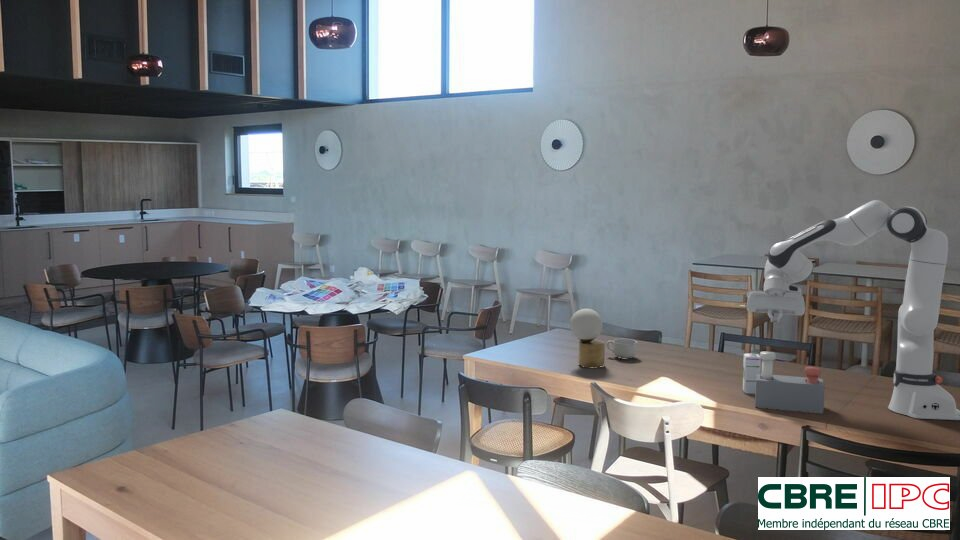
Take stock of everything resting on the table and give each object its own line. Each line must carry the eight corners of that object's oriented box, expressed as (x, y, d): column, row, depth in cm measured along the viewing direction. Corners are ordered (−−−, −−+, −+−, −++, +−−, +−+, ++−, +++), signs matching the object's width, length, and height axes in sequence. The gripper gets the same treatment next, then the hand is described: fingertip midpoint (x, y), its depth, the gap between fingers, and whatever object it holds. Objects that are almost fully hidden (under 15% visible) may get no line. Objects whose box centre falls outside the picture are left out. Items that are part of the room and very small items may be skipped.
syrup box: (760, 394, 287) (761, 356, 285) (743, 393, 288) (745, 356, 286) (757, 390, 292) (759, 353, 291) (741, 389, 294) (743, 352, 292)
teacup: (640, 357, 349) (640, 340, 348) (631, 361, 340) (631, 344, 339) (611, 353, 356) (612, 336, 356) (602, 357, 347) (602, 340, 346)
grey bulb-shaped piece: (773, 390, 275) (775, 352, 273) (774, 393, 270) (775, 355, 268) (758, 388, 276) (760, 351, 275) (758, 392, 271) (760, 354, 270)
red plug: (818, 405, 270) (820, 367, 269) (819, 410, 265) (821, 370, 264) (802, 404, 272) (804, 366, 270) (803, 408, 267) (805, 369, 265)
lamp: (566, 367, 329) (567, 310, 326) (572, 360, 342) (573, 305, 339) (601, 370, 325) (603, 312, 322) (606, 362, 338) (607, 307, 335)
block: (820, 405, 272) (822, 378, 271) (823, 413, 263) (824, 385, 262) (754, 400, 279) (756, 373, 278) (755, 407, 270) (756, 380, 269)
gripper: (747, 284, 287) (745, 314, 279) (805, 288, 281) (805, 318, 273) (746, 294, 292) (744, 323, 284) (803, 298, 285) (803, 328, 277)
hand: (774, 321), depth 278 cm, fingers closed
